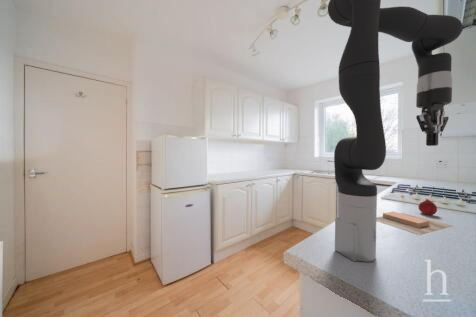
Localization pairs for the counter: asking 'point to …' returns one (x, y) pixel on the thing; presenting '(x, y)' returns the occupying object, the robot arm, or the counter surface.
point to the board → (421, 230)
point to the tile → (406, 219)
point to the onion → (427, 207)
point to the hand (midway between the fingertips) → (432, 145)
